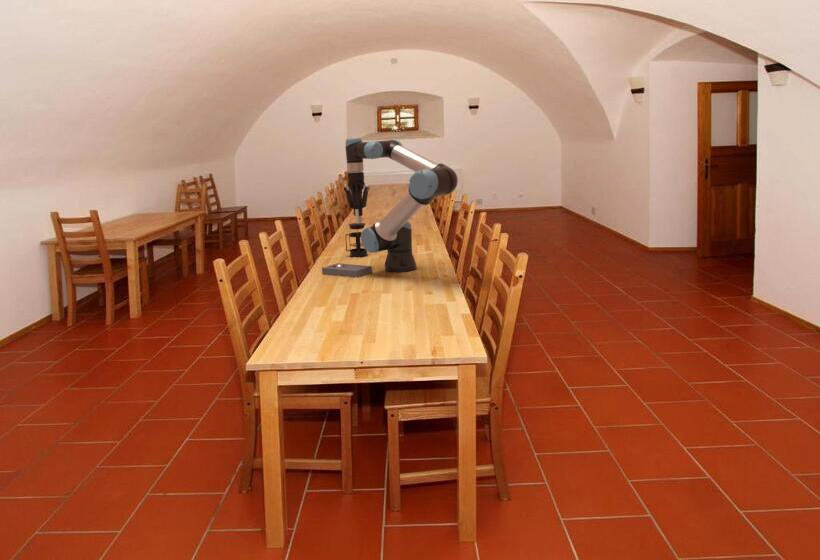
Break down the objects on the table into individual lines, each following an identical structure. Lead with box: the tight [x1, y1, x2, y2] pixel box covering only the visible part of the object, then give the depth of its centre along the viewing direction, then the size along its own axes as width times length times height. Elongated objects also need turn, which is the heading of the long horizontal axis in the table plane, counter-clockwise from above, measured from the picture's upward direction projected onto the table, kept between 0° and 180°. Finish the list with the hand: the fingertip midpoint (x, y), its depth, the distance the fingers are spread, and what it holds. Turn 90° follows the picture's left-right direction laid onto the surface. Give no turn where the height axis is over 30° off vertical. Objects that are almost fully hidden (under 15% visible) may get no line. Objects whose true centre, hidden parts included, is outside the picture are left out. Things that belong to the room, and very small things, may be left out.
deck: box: [321, 262, 373, 278], centre depth 341 cm, size 20×12×3 cm, turn 57°
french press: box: [344, 212, 369, 258], centre depth 382 cm, size 12×9×23 cm
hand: (358, 222), depth 341 cm, fingers closed
